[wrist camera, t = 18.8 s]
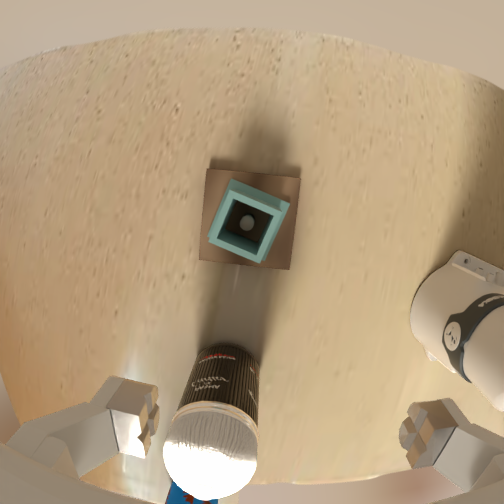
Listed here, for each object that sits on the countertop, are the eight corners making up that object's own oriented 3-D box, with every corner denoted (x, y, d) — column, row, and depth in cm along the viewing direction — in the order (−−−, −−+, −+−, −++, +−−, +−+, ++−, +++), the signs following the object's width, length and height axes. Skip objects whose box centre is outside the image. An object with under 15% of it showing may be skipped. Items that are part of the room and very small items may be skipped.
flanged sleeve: (289, 203, 41) (295, 207, 33) (264, 259, 42) (264, 275, 35) (231, 178, 40) (224, 177, 33) (207, 235, 42) (196, 246, 35)
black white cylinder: (184, 346, 47) (129, 467, 23) (249, 331, 46) (235, 461, 22) (208, 398, 49) (177, 521, 25) (268, 385, 48) (269, 516, 24)
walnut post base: (299, 178, 41) (305, 177, 36) (288, 267, 44) (292, 279, 38) (208, 169, 42) (199, 166, 36) (201, 257, 44) (191, 268, 38)
